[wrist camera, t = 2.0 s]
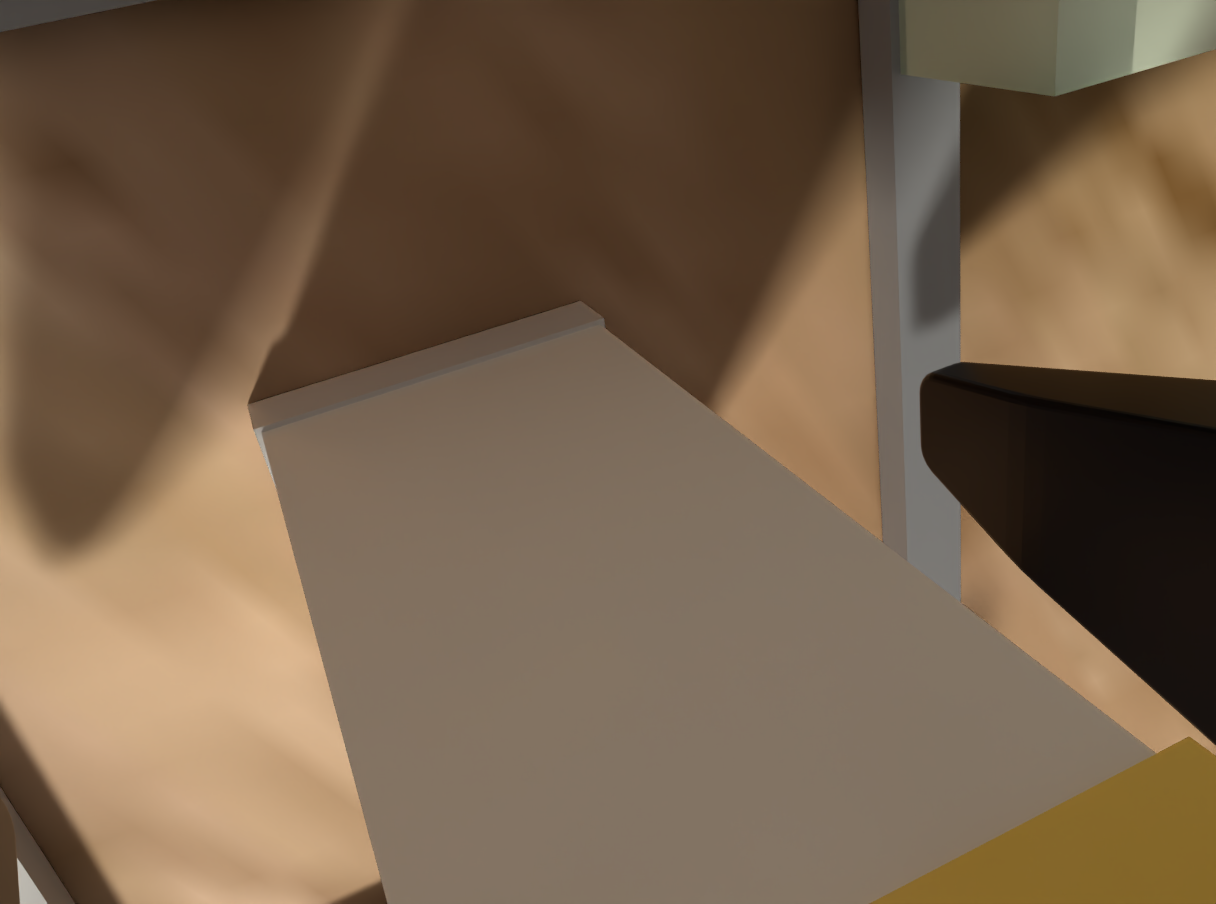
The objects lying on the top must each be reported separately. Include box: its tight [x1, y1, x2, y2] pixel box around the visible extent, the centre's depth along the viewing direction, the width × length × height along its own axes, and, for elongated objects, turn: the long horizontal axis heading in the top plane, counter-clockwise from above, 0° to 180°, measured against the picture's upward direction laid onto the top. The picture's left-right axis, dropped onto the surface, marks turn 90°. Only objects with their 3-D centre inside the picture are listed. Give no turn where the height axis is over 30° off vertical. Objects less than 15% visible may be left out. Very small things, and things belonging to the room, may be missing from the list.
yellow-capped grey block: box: [248, 301, 1216, 904], centre depth 7 cm, size 3×3×8 cm
